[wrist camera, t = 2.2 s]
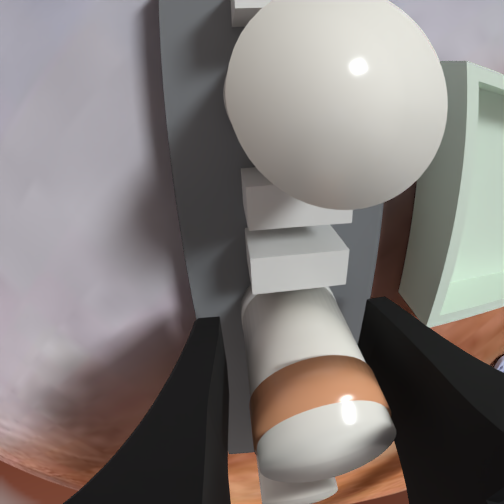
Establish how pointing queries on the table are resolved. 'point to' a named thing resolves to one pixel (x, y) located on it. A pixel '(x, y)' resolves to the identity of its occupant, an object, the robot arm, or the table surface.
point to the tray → (460, 206)
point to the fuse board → (245, 200)
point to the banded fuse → (309, 388)
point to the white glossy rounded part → (336, 100)
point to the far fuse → (295, 491)
